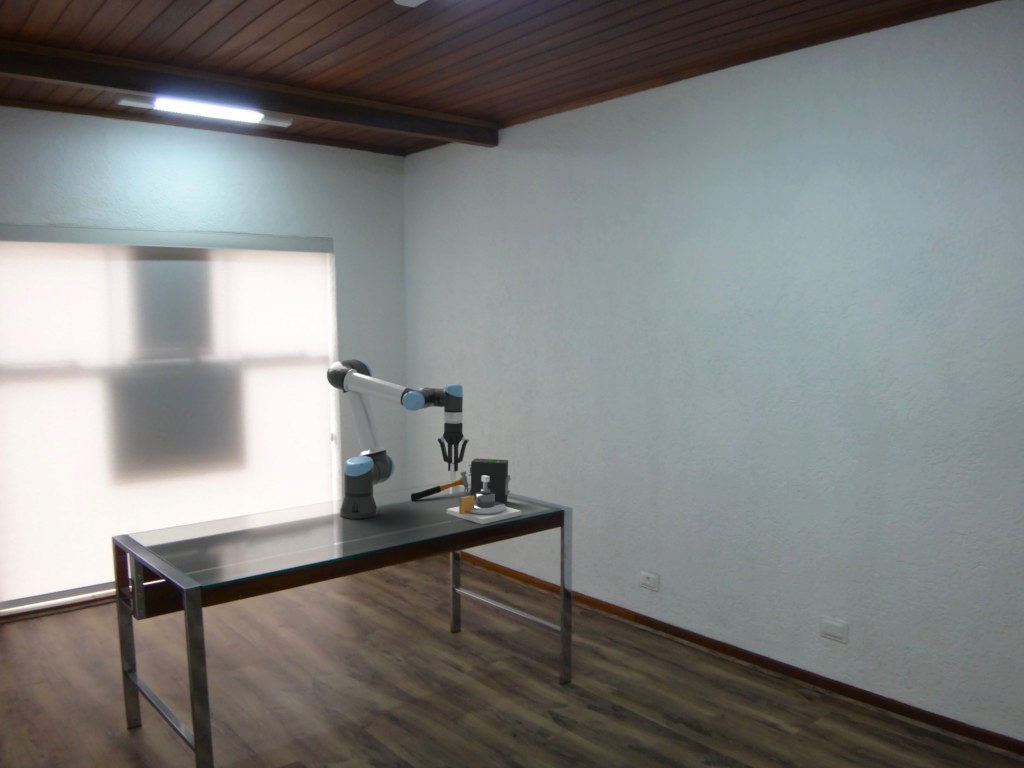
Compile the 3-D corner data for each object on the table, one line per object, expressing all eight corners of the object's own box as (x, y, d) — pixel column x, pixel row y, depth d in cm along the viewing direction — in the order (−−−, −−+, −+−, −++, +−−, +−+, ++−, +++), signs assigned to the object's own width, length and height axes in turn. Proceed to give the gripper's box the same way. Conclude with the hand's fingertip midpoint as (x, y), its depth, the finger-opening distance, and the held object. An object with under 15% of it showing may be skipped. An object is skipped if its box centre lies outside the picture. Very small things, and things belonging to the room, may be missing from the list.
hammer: (412, 488, 358) (467, 471, 375) (408, 487, 361) (463, 469, 378) (415, 512, 360) (470, 493, 377) (411, 510, 363) (466, 491, 380)
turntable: (446, 509, 337) (446, 494, 336) (485, 501, 352) (485, 486, 351) (474, 518, 324) (475, 502, 323) (514, 509, 339) (514, 494, 339)
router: (470, 499, 366) (471, 455, 364) (510, 501, 363) (511, 457, 362) (467, 503, 358) (468, 459, 356) (507, 505, 355) (508, 460, 354)
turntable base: (446, 513, 340) (447, 480, 338) (485, 505, 355) (485, 474, 354) (482, 524, 324) (482, 490, 323) (520, 515, 339) (521, 482, 338)
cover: (471, 505, 339) (471, 489, 338) (485, 502, 344) (485, 486, 344) (484, 508, 333) (485, 492, 332) (498, 505, 339) (498, 489, 338)
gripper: (435, 422, 328) (435, 479, 330) (466, 424, 325) (465, 481, 327) (440, 420, 335) (440, 476, 337) (471, 421, 332) (470, 478, 335)
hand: (452, 478), depth 332 cm, fingers closed
